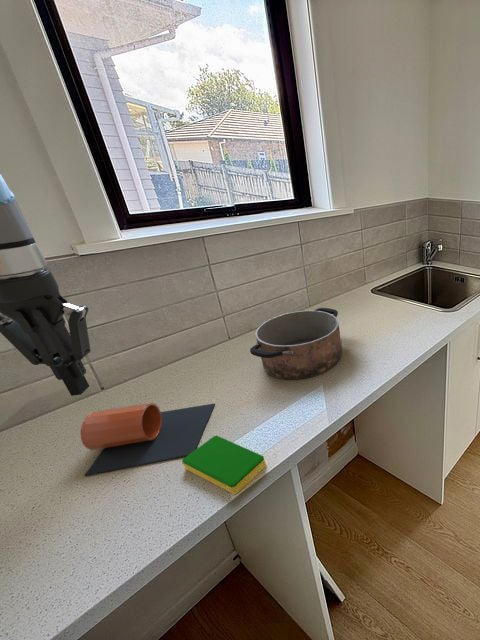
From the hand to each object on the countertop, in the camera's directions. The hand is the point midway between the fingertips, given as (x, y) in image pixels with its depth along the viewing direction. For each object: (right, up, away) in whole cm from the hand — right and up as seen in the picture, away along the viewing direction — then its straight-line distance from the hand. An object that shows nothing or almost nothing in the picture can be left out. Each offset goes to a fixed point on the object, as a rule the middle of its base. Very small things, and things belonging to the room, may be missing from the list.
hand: (80, 390), depth 64 cm
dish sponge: (+27, -15, +1) cm, 31 cm away
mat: (+8, -11, +8) cm, 16 cm away
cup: (-1, -9, +4) cm, 10 cm away
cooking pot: (+30, +2, +36) cm, 47 cm away
